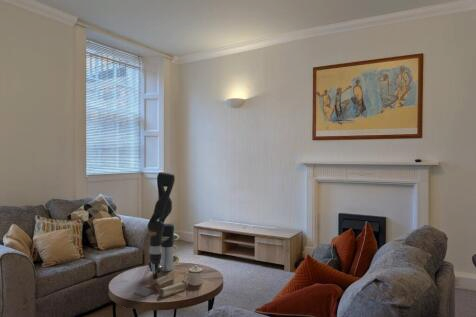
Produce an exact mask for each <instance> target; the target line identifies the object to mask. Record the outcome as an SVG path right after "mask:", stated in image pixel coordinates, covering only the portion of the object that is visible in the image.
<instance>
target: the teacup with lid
mask: <svg viewBox="0 0 476 317" xmlns="http://www.w3.org/2000/svg"><path fill="white" fill-rule="evenodd" d="M203 271H204V269H203V268H202V267H199V266H198V265H197V264H196V265H194V266H192V267H191V268H189V269H188V272H185V273H184V275H183V278H184V279H185V280H186V281H188V284H189V285H190V286H194V287H196V286H201V285H202V284H203ZM186 275H188V278H186Z"/></svg>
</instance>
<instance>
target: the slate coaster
mask: <svg viewBox="0 0 476 317" xmlns="http://www.w3.org/2000/svg"><path fill="white" fill-rule="evenodd" d="M155 292H156V291H155V290H153V289H150V288H148V287H142V288H140V289H138V290H136V291H134V292H133V295H137V296H140V297H144V298H146V297H148V296H150V295H152V294H154V293H155Z"/></svg>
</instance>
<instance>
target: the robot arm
mask: <svg viewBox="0 0 476 317" xmlns="http://www.w3.org/2000/svg"><path fill="white" fill-rule="evenodd" d="M156 178H157V179H156V182H157V183H156V185H157V194H158V200H157V201H156V203H155V205H154V209H153V213H152V215H151V216H150V219H149V221H148V223H147V229H148V231H149V232H151V233H152V232H153V233H155V235H151V236H150V237H149V238H150V240H149V256H148V257H149V261H150V262H148V263H147V265H148V266H149V270H150V272H151V273H152V279H153V280H156V279H158V274H159V273H160V272H171V271H172V270H174V234H175V225H174V224H173V223H165V221H166V219H167V218H168V217H169V215H171V212H172V210H173V201H172V199H171V197H170V196H171V193H172V190H173V187H174V184H175V180H176V179H175V178H176V177H175V174H174V173H169V172H163V171H162V172H161V171H160V172H159V173H158V174H157V177H156ZM165 188H166V189H165ZM167 237H168V238H167ZM162 238H166V239H164V240H162Z"/></svg>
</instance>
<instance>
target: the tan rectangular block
mask: <svg viewBox="0 0 476 317" xmlns="http://www.w3.org/2000/svg"><path fill="white" fill-rule="evenodd" d="M174 284H175V283H174V278H173V277H169V276H166V275H163V276H161V277H159V278H158V277H157V279H153V280H151V281H150V288H149V289H153V290H155V292H158V293H159V288H165V287H168V286H171V285H174Z"/></svg>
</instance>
